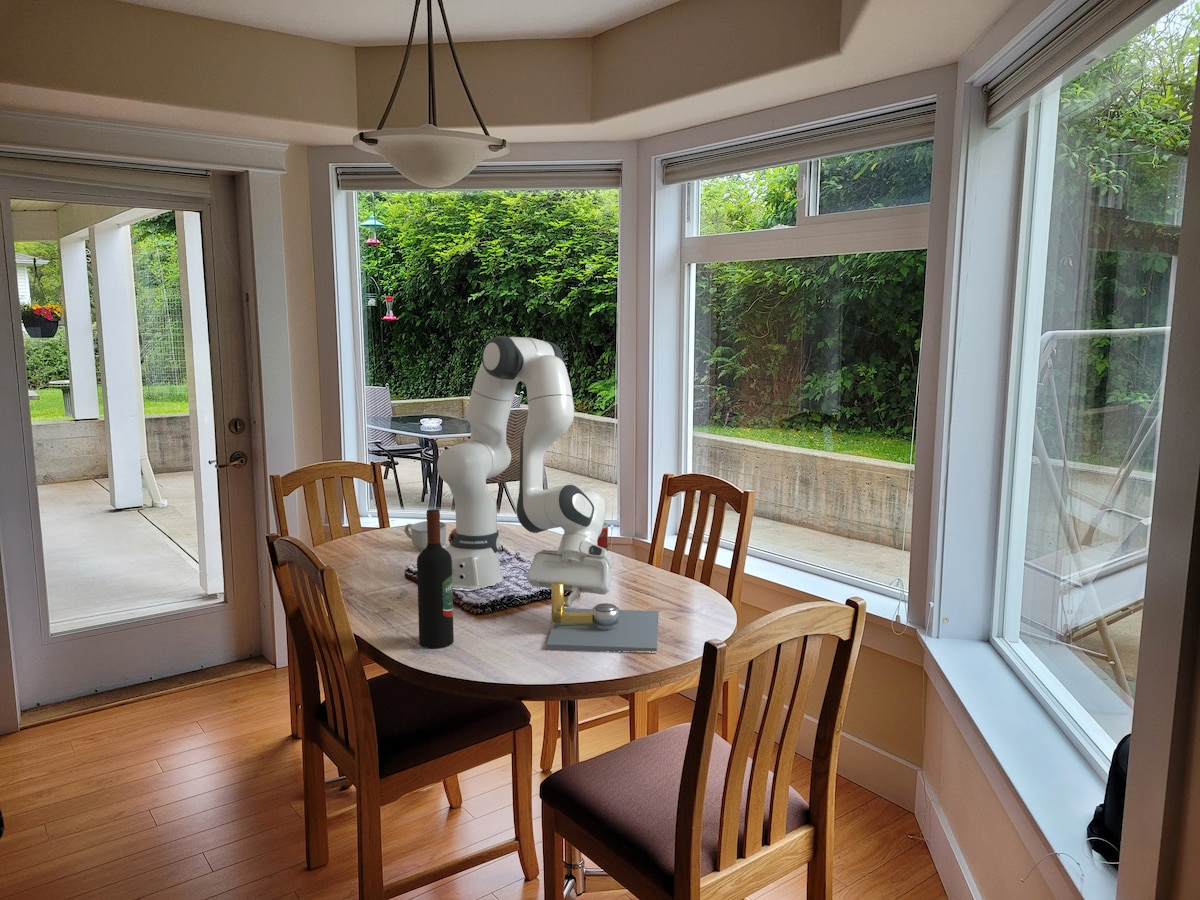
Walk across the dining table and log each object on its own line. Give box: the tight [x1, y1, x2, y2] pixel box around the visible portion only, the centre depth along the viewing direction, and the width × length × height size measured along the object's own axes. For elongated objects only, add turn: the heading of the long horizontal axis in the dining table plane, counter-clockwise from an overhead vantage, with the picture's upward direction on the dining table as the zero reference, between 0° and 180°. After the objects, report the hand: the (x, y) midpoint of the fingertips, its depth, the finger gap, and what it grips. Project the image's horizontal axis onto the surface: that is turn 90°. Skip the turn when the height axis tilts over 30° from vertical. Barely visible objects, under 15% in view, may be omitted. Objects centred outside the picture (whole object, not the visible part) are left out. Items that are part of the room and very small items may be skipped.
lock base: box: [545, 607, 660, 653], centre depth 197 cm, size 24×24×2 cm
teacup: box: [404, 520, 447, 552], centre depth 268 cm, size 14×11×8 cm
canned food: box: [597, 521, 609, 553], centre depth 256 cm, size 8×8×11 cm
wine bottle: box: [416, 508, 455, 650], centre depth 188 cm, size 8×8×30 cm
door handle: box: [551, 582, 620, 626], centre depth 196 cm, size 15×6×9 cm, turn 90°
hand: (561, 605), depth 198 cm, fingers closed on door handle
